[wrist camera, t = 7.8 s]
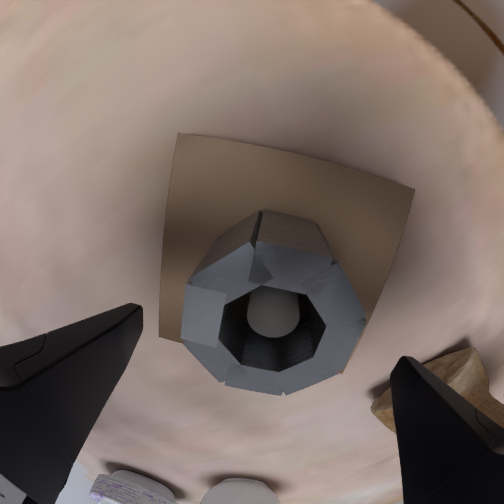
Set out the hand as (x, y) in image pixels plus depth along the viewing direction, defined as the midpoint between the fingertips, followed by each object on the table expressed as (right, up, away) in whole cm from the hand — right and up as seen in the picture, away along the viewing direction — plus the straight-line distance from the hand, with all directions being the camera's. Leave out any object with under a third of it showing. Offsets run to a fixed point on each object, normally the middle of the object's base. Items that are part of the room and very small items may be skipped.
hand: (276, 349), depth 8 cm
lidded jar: (-2, -28, +19) cm, 33 cm away
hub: (0, +2, +6) cm, 6 cm away
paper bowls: (-19, -35, +23) cm, 46 cm away
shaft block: (+1, +2, +7) cm, 8 cm away
